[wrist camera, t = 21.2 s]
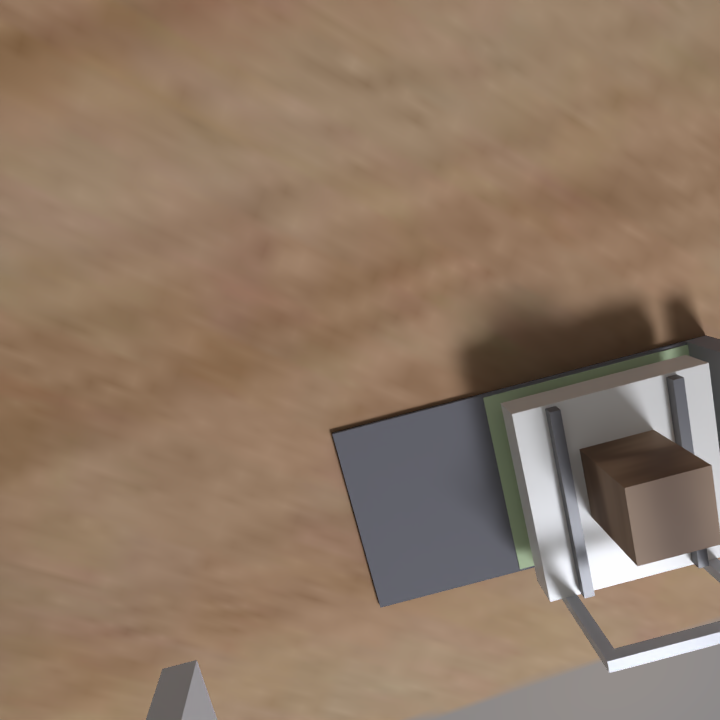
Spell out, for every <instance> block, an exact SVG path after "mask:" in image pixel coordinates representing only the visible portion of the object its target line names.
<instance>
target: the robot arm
mask: <svg viewBox="0 0 720 720" xmlns="http://www.w3.org/2000/svg"><path fill="white" fill-rule="evenodd" d="M146 720H217V718H216V715H215V712H214V709H213V706H212V703H211V700H210V697H209V694H208V692H207V689H206V686H205V683H204V680H203V677H202V674H201V671H200V668H199V665H198V662H197V660H195V661H191V662H187V663H184V664H180V665H176V666H172V667H168V668H164V669H162V672H161V675H160V678H159V681H158V684H157V688H156V691H155V694H154V697H153V700H152V703H151V706H150V709H149V712H148V715H147V718H146Z"/></svg>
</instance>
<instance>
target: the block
mask: <svg viewBox="0 0 720 720" xmlns="http://www.w3.org/2000/svg"><path fill="white" fill-rule="evenodd" d="M579 450H580V455H581V461H582V466H583V472H584V477H585V483H586V488H587V494H588V500H589V505H590V511H591V516H592V518H593V519H594V520H595V521H596V522H597V523H598V525H599V526H600V527H601V528H602V529H603V530H604V531H605V532H606V533H607V534H608V535H609V536H610V537H611V539H612V540H613V541H614V542H615V543H616V544H617V545H618V546H619V547H620V548H621V549H622V550H623V551H624V553H625V554H626V555H627V556H628V557H629V558H630V559H631V560H632V561H633V562H634V563H635V564H636V565H637V566H641V565H645V564H649V563H652V562H656V561H660V560H664V559H668V558H671V557H675V556H679V555H683V554H687V553H690V552H694V551H698V550H702V549H706V548H709V547H713V546H717V545H720V526H719V518H718V511H717V503H716V495H715V487H714V479H713V471H712V465H711V464H709V463H707V462H706V461H704V460H702V459H701V458H699V457H697V456H696V455H694V454H693V453H691V452H689V451H688V450H686V449H684V448H683V447H681V446H679V445H678V444H676V443H675V442H673V441H671V440H670V439H668V438H666V437H665V436H663V435H661V434H660V433H658V432H657V431H655V430H651V431H647V432H643V433H639V434H635V435H632V436H628V437H624V438H620V439H616V440H612V441H609V442H605V443H601V444H597V445H593V446H590V447H586V448H582V449H579Z"/></svg>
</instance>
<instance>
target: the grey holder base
mask: <svg viewBox="0 0 720 720" xmlns="http://www.w3.org/2000/svg"><path fill="white" fill-rule="evenodd" d="M683 355H688V356H691V357H693V358H696V359H699V360H702V361H705V362H708V363H709V369H710V377H711V385H712V393H713V402H714V410H715V418H716V426H717V434H718V442H719V451H720V339H717V338H713V337H710V336H702V337H698V338H694V339H691V340H687V341H683V342H679V343H675V344H671V345H668V346H664V347H660V348H656V349H652V350H648V351H645V352H641V353H637V354H633V355H629V356H625V357H621V358H618V359H614V360H610V361H606V362H602V363H598V364H595V365H591V366H587V367H583V368H579V369H575V370H572V371H568V372H564V373H560V374H556V375H552V376H549V377H545V378H541V379H537V380H533V381H529V382H526V383H522V384H518V385H514V386H510V387H506V388H503V389H499V390H495V391H491V392H487V393H483V394H480V395H476V396H472V397H468V398H464V399H460V400H457V401H453V402H449V403H445V404H441V405H437V406H434V407H430V408H426V409H422V410H418V411H414V412H411V413H407V414H403V415H399V416H395V417H391V418H388V419H384V420H380V421H376V422H372V423H368V424H365V425H361V426H357V427H353V428H349V429H345V430H342V431H338V432H334V433H332V435H333V438H334V442H335V446H336V449H337V453H338V456H339V460H340V464H341V467H342V471H343V474H344V478H345V482H346V485H347V489H348V492H349V496H350V499H351V503H352V507H353V510H354V514H355V517H356V521H357V525H358V528H359V532H360V535H361V539H362V543H363V546H364V550H365V553H366V557H367V561H368V564H369V568H370V571H371V575H372V579H373V582H374V586H375V589H376V593H377V596H378V600H379V604H380V607H384V606H388V605H392V604H396V603H400V602H403V601H407V600H411V599H415V598H419V597H423V596H426V595H430V594H434V593H438V592H442V591H445V590H449V589H453V588H457V587H461V586H465V585H468V584H472V583H476V582H480V581H484V580H487V579H491V578H495V577H499V576H503V575H507V574H510V573H514V572H518V571H522V570H526V569H529V568H533V567H535V566H534V562H533V557H532V552H531V547H530V542H529V538H528V533H527V528H526V523H525V518H524V513H523V509H522V504H521V499H520V494H519V489H518V485H517V480H516V475H515V470H514V465H513V460H512V456H511V451H510V446H509V441H508V436H507V432H506V427H505V422H504V417H503V412H502V407H501V403H503V402H507V401H511V400H514V399H518V398H522V397H526V396H530V395H534V394H537V393H541V392H545V391H549V390H553V389H557V388H560V387H564V386H568V385H572V384H576V383H580V382H583V381H587V380H591V379H595V378H599V377H603V376H606V375H610V374H614V373H618V372H622V371H626V370H629V369H633V368H637V367H641V366H645V365H649V364H652V363H656V362H660V361H664V360H668V359H672V358H675V357H679V356H683Z"/></svg>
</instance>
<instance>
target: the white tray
mask: <svg viewBox="0 0 720 720" xmlns="http://www.w3.org/2000/svg"><path fill="white" fill-rule="evenodd" d="M501 407H502V412H503V417H504V422H505V427H506V432H507V436H508V441H509V446H510V451H511V456H512V460H513V465H514V470H515V475H516V480H517V485H518V489H519V494H520V499H521V504H522V509H523V513H524V518H525V523H526V528H527V533H528V538H529V542H530V547H531V552H532V557H533V562H534V566H535V571H536V576H537V581H538V583H539V584H540V586H541V588H542V589H543V591H544V592H545V594H546V596H547V597H548V599H549V601H550V602H551V601H555V600H559V599H562V600H563V601H564V603H565V605H566V606H567V608H568V609H569V611H570V612H571V614H572V615H573V617H574V619H575V620H576V622H577V623H578V625H579V626H580V628H581V629H582V631H583V632H584V634H585V636H586V637H587V639H588V640H589V642H590V643H591V645H592V646H593V648H594V650H595V651H596V653H597V654H598V656H599V657H600V659H601V660H602V662H603V664H604V665H605V667H606V668H607V670H608V671H609V673H610V672H614V671H618V670H622V669H626V668H630V667H634V666H637V665H641V664H645V663H648V662H653V661H656V660H660V659H664V658H668V657H671V656H675V655H679V654H682V653H687V652H691V651H694V650H698V649H702V648H706V647H710V646H713V645H717V644H720V621H718V622H714V623H711V624H707V625H703V626H699V627H695V628H691V629H688V630H684V631H680V632H676V633H672V634H669V635H665V636H661V637H657V638H653V639H650V640H646V641H642V642H638V643H634V644H631V645H627V646H623V647H619V648H615V649H614V648H613V647H612V645H611V644H610V642H609V641H608V639H607V638H606V636H605V635H604V633H603V632H602V631H601V629H600V628H599V626H598V625H597V623H596V622H595V620H594V619H593V618H592V616H591V615H590V613H589V612H588V610H587V609H586V607H585V606H584V605H583V603H582V602H581V600H580V599H579V597H578V596H577V595H578V594H582V595H583V597H584V598H588V597H592V596H595V594H594V590H597V589H601V588H605V587H608V586H612V585H616V584H620V583H624V582H627V581H631V580H635V579H639V578H643V577H647V576H650V575H654V574H658V573H662V572H666V571H669V570H673V569H677V568H681V567H685V566H689V565H692V564H695V565H696V566H697V567H698V568H702V567H703V568H704V569H705V570H706V571H707V572H709V573H710V574H711V575H712V576H713V577H714V578H715V579H716V580H717V581H719V582H720V560H718V559H717V558H719V557H720V545H717V546H713V547H709V548H706V549H702V550H698V551H694V552H690V553H687V554H683V555H679V556H675V557H671V558H668V559H664V560H660V561H656V562H652V563H649V564H645V565H641V566H637V565H636V564H635V563H634V562H633V561H632V560H631V559H630V558H629V557H628V556H627V555H626V554H625V553H624V551H623V550H622V549H621V548H620V547H619V546H618V545H617V544H616V543H615V542H614V541H613V540H612V539H611V537H610V536H609V535H608V534H607V533H606V532H605V531H604V530H603V529H602V528H601V527H600V526H599V525H598V523H597V522H596V521H595V520H594V519H593V518H592V516H591V511H590V505H589V500H588V494H587V488H586V483H585V477H584V472H583V466H582V461H581V455H580V450H579V449H582V448H586V447H590V446H593V445H597V444H601V443H605V442H609V441H612V440H616V439H620V438H624V437H628V436H632V435H635V434H639V433H643V432H647V431H651V430H655V431H657V432H658V433H660V434H661V435H663V436H665V437H666V438H668V439H670V440H671V441H673V442H675V443H676V444H678V445H679V446H681V447H683V448H684V449H686V450H688V451H689V452H691V453H693V454H694V455H696V456H697V457H699V458H701V459H702V460H704V461H706V462H707V463H709V464H711V465H712V471H713V479H714V487H715V495H716V503H717V511H718V518H719V526H720V451H719V442H718V434H717V426H716V418H715V410H714V402H713V393H712V385H711V377H710V369H709V363H708V362H705V361H702V360H699V359H696V358H693V357H691V356H688V355H683V356H679V357H675V358H672V359H668V360H664V361H660V362H656V363H652V364H649V365H645V366H641V367H637V368H633V369H629V370H626V371H622V372H618V373H614V374H610V375H606V376H603V377H599V378H595V379H591V380H587V381H583V382H580V383H576V384H572V385H568V386H564V387H560V388H557V389H553V390H549V391H545V392H541V393H537V394H534V395H530V396H526V397H522V398H518V399H514V400H511V401H507V402H503V403H501Z"/></svg>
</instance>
